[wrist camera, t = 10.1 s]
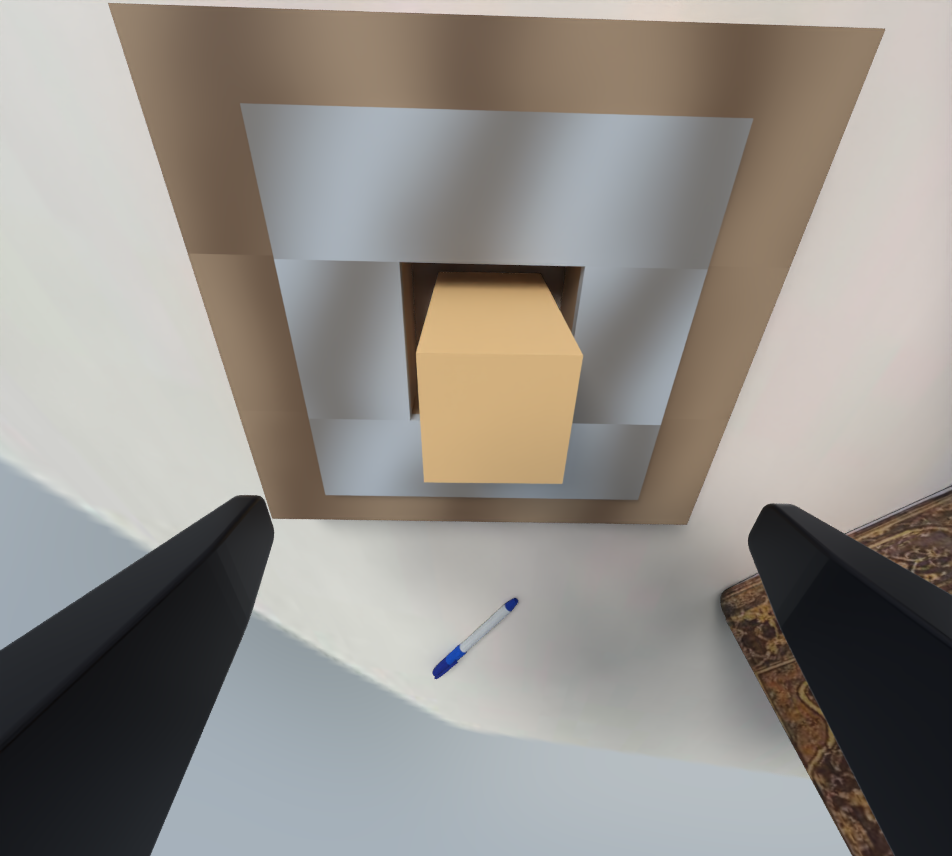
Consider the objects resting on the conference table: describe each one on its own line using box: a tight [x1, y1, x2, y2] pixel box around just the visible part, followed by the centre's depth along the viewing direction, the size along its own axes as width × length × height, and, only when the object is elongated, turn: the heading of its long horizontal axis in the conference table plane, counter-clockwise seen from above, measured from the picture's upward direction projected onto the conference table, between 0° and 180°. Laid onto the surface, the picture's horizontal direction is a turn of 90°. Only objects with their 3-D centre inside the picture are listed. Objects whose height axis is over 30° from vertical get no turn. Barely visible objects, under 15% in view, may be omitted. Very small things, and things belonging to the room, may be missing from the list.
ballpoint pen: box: [433, 598, 518, 679], centre depth 30 cm, size 10×1×1 cm, turn 149°
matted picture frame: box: [108, 3, 885, 525], centre depth 17 cm, size 20×18×3 cm
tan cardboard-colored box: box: [416, 272, 583, 484], centre depth 15 cm, size 4×4×8 cm
